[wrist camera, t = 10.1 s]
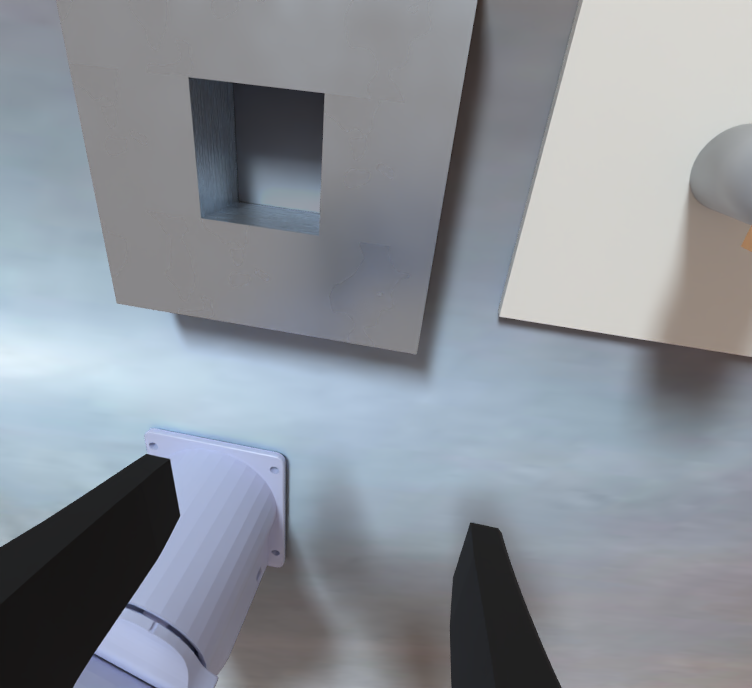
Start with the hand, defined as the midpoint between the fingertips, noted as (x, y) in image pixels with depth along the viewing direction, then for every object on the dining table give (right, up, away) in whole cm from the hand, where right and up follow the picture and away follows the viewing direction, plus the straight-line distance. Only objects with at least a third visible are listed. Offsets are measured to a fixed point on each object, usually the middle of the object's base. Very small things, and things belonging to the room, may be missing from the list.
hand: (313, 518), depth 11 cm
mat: (+13, +10, +4) cm, 17 cm away
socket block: (-2, +11, +6) cm, 13 cm away
